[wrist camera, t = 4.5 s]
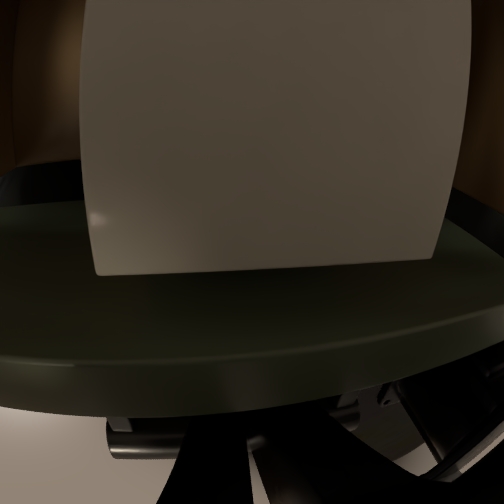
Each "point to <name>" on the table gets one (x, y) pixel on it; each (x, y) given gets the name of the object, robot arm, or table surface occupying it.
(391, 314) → the drawer
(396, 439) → the table surface
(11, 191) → the table surface
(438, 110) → the block
